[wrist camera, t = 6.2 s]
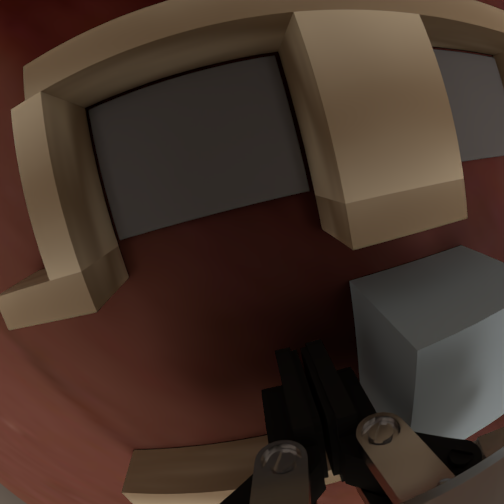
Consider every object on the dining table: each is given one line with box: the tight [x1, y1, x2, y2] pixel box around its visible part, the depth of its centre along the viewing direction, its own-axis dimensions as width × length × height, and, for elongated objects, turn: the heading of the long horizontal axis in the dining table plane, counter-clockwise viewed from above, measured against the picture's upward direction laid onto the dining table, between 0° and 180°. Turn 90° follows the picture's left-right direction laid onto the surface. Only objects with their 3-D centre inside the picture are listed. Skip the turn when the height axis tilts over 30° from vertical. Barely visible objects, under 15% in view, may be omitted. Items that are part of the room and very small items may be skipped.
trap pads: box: [88, 49, 504, 240], centre depth 9 cm, size 5×18×1 cm, turn 104°
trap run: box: [0, 0, 504, 504], centre depth 9 cm, size 18×28×3 cm, turn 104°
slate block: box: [349, 245, 504, 440], centre depth 9 cm, size 6×6×5 cm
